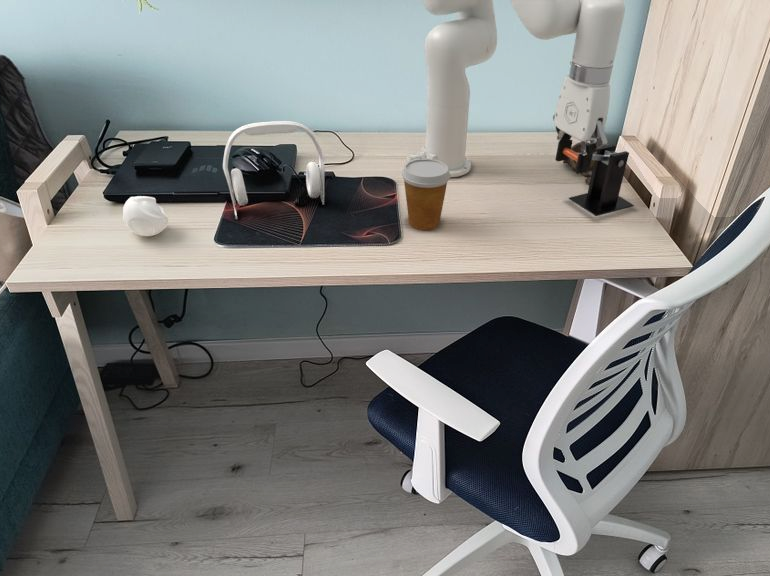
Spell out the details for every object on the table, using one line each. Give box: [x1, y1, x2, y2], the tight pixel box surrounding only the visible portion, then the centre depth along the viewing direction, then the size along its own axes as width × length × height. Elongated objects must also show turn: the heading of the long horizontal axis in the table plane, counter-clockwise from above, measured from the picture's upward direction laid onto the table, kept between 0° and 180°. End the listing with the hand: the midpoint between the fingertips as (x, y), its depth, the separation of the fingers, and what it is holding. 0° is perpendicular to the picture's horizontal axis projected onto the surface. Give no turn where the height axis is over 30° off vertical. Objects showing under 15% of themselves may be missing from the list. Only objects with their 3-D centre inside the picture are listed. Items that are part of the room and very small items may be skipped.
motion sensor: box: [122, 195, 169, 237], centre depth 121 cm, size 8×8×8 cm
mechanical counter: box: [562, 141, 596, 186], centre depth 150 cm, size 7×13×10 cm
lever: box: [562, 147, 618, 165], centre depth 131 cm, size 13×6×2 cm, turn 120°
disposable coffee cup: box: [401, 159, 451, 231], centre depth 128 cm, size 10×10×12 cm
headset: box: [222, 120, 325, 220], centre depth 128 cm, size 20×7×18 cm, turn 109°
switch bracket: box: [568, 143, 635, 217], centre depth 137 cm, size 11×9×13 cm
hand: (572, 165), depth 129 cm, fingers closed on lever, 5 cm apart
